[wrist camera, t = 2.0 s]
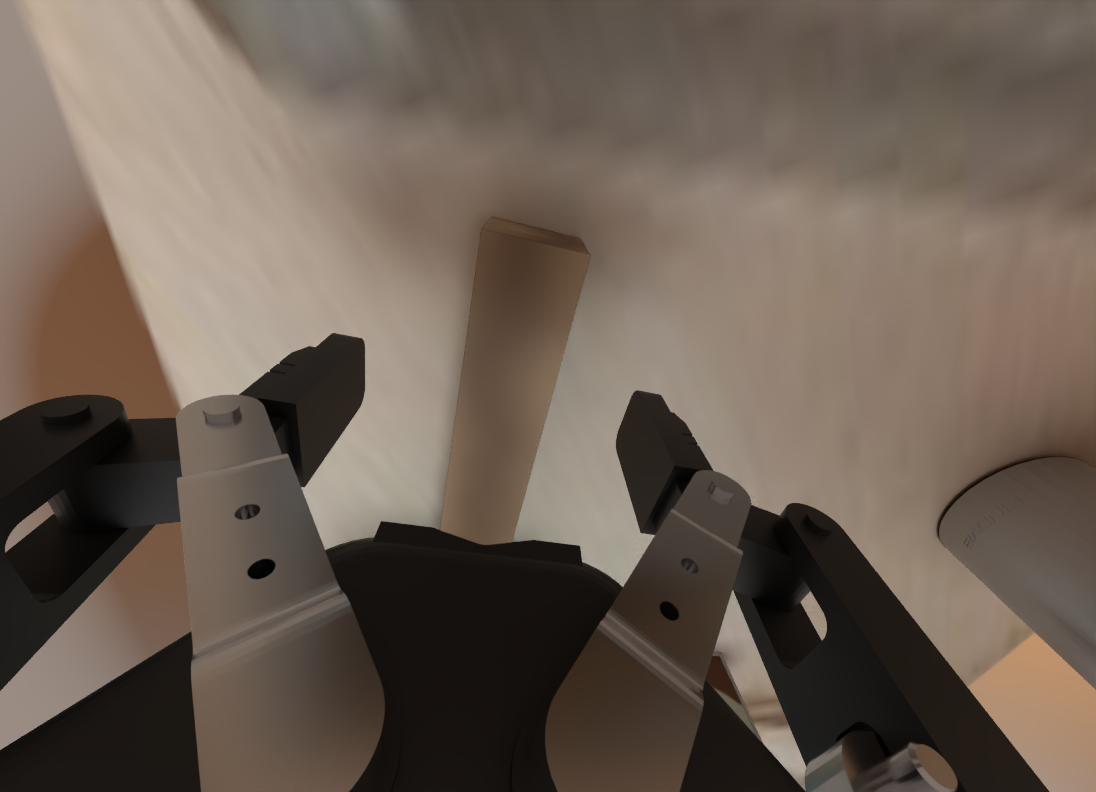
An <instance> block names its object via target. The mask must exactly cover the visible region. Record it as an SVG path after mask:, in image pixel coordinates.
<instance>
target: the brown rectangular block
mask: <svg viewBox="0 0 1096 792" xmlns="http://www.w3.org/2000/svg"><path fill="white" fill-rule="evenodd" d="M589 259H590V254H589V252H588V250H587V249H586V247H585V245H584V243H583V242H582V240H581V239H580V238H576V237H572V236H568V235H564V234H560V233H556V232H552V231H548V230H544V229H539V228H535V227H531V226H527V225H523V224H519V223H515V222H511V221H507V220H503V219H499V218H495V217H491V218H490V219H489V221H488V222H487V223H486V224H485V225H484V227H483V228H482V229H481V236H480V243H479V250H478V258H477V265H476V272H475V279H474V287H473V294H472V301H471V308H470V316H469V323H468V330H467V337H466V345H465V352H464V359H463V366H462V374H461V381H460V388H459V395H458V403H457V410H456V417H455V424H454V432H453V439H452V446H451V453H450V461H449V468H448V475H447V482H446V490H445V497H444V504H443V511H442V519H441V526H440V530H441V531H444V532H447V533H449V534H452V535H455V536H458V537H461V538H464V539H466V540H469V541H472V542H475V543H478V544H482V545H491V544H501V543H510V542H512V540H513V536H514V533H515V529H516V525H517V522H518V518H519V514H520V511H521V507H522V504H523V500H524V496H525V493H526V489H527V485H528V482H529V478H530V474H531V471H532V467H533V463H534V460H535V456H536V452H537V449H538V445H539V441H540V438H541V434H542V431H543V427H544V423H545V420H546V416H547V412H548V409H549V405H550V401H551V398H552V394H553V390H554V387H555V383H556V379H557V376H558V372H559V369H560V365H561V361H562V358H563V354H564V350H565V347H566V343H567V339H568V336H569V332H570V328H571V325H572V321H573V317H574V314H575V310H576V306H577V303H578V299H579V296H580V292H581V288H582V285H583V281H584V277H585V274H586V270H587V266H588V263H589Z"/></svg>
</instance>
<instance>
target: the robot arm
mask: <svg viewBox="0 0 1096 792" xmlns="http://www.w3.org/2000/svg"><path fill="white" fill-rule="evenodd" d="M364 392H365V344H364V341H363V339H362V338H357V337H352V336H346V335H341V334H336V333H332V334H331V335H330V336H328V337H327V338H326V339H325V340H324V341H323V342H321V343H320V344H319V345H318V346H317V347H310V346H309V347H306V348H303V349H301V350H298V351H295V352H292V353H291V354H289V355H288V356H287V357H286V358H284V359H283V360H282V361H281V362H280V364H277V365H276V366H274V367H273V368H272V369H271V370H270V372H267V373H266V374H264V375H263V376H262V377H261V378H259V379H258V380H257V381H256V382H254V383H253V384H252V385H251V386H249V387H248V388H247V389H246V390H244V391H243V392H242V393H241V394H239V395H219V396H213V397H208V398H204V399H201V400H198V401H195V402H193V403H191V404H189V405H187V406H186V407H184V408H183V409H182V410H181V411H180V412H179V413H178V415H177V417H176V418H155V419H128V417H127V414H126V411H125V409H124V406H123V404H122V403H121V402H120V401H119V400H117V399H115V398H111V397H108V396H102V395H74V396H65V397H60V398H54V399H50V400H46V401H42V402H39V403H36V404H33V405H31V406H28V407H26V408H24V409H22V410H19V411H18V412H16V413H14V414H12V415H10V416H8V417H6V418H4V419H2V420H1V421H0V691H1V689H3V687H4V686H5V685H6V684H7V683H8V682H9V681H10V680H11V679H12V678H13V677H14V676H15V675H16V674H17V673H18V671H19V670H20V669H21V668H22V667H23V666H24V665H25V664H26V663H27V662H28V661H29V660H30V659H31V657H33V655H34V654H35V653H36V652H37V651H38V650H39V649H40V648H41V647H42V646H43V645H44V644H45V643H46V641H47V640H48V639H49V638H50V637H51V636H52V635H53V634H54V633H55V632H56V631H57V630H58V629H59V628H60V627H61V625H62V624H63V623H64V622H65V621H66V620H67V619H68V618H69V617H70V616H71V615H72V614H73V613H74V612H75V610H76V609H77V608H78V607H79V606H80V605H81V604H82V603H83V602H84V601H85V600H86V599H87V598H88V596H89V595H90V594H91V593H92V592H93V591H94V590H95V589H96V588H97V587H98V586H99V585H100V584H101V583H102V582H103V581H104V579H105V578H106V577H107V576H108V575H109V574H110V573H111V572H112V571H113V570H114V569H115V568H116V567H117V566H118V564H119V563H120V562H121V561H122V560H123V559H124V558H125V557H126V556H127V555H128V553H130V551H132V550H133V548H134V547H135V546H136V545H137V544H138V543H139V542H140V541H141V540H142V539H143V537H145V536H146V535H147V533H148V532H149V531H150V530H151V529H152V528H153V527H154V526H155V525H156V524H162V523H172V522H181V529H182V539H183V549H184V560H185V570H186V580H187V591H188V601H189V611H190V621H191V632H189V633H188V634H186V635H185V636H183V637H181V638H180V639H178V640H177V641H175V642H173V643H172V644H170V645H168V646H167V647H165V648H164V649H162V650H161V651H159V652H157V653H156V654H154V655H153V656H151V657H149V658H148V659H146V660H144V661H143V662H141V663H140V664H138V665H136V666H135V667H133V668H132V669H130V670H128V671H127V672H125V673H124V674H122V675H121V676H119V677H117V678H115V679H114V680H112V681H111V682H109V683H107V684H106V685H104V686H103V687H101V688H99V689H98V690H96V691H95V692H93V693H91V694H90V695H88V696H87V697H85V698H84V699H82V700H80V701H79V702H77V703H75V704H74V705H72V706H70V707H69V708H67V709H66V710H64V711H62V712H61V713H59V714H58V715H56V716H54V717H53V718H51V719H50V720H48V721H46V722H45V723H43V724H42V725H40V726H38V727H37V728H35V729H34V730H32V731H30V732H29V733H27V734H26V735H24V736H22V737H21V738H19V739H17V740H16V741H14V742H13V743H11V744H9V745H8V746H6V747H5V748H3V749H1V750H0V792H1049V791H1048V789H1047V788H1046V787H1045V786H1044V784H1043V783H1042V782H1041V780H1040V779H1039V778H1038V777H1037V775H1036V774H1035V773H1034V772H1033V770H1032V769H1031V768H1030V767H1029V765H1028V764H1027V763H1026V761H1025V760H1024V759H1023V758H1022V756H1021V755H1020V754H1019V752H1018V751H1017V750H1016V749H1015V747H1014V746H1013V745H1012V744H1011V742H1010V741H1009V740H1008V739H1007V737H1006V736H1005V735H1004V733H1003V732H1002V731H1001V730H1000V728H999V727H998V726H997V725H996V724H995V722H994V721H993V719H992V718H991V717H990V716H989V714H988V713H987V712H986V711H985V709H984V708H983V707H982V706H981V704H980V703H979V702H978V700H977V699H976V698H975V697H974V695H973V694H972V693H971V691H970V690H969V689H968V688H967V686H966V685H965V684H964V683H963V681H962V680H961V679H960V677H959V676H958V675H957V674H956V672H955V671H954V670H953V669H952V667H951V666H950V665H949V663H948V662H947V661H946V660H945V658H944V657H943V656H942V655H941V653H940V652H939V651H938V649H937V648H936V647H935V646H934V644H933V643H932V642H931V641H930V639H929V638H928V637H927V635H926V634H925V633H924V632H923V630H922V629H921V628H920V627H919V625H918V624H917V623H916V622H915V620H914V619H913V618H912V616H911V615H910V614H909V613H908V611H907V610H906V609H905V608H904V606H903V605H902V604H901V602H900V601H899V600H898V599H897V597H896V596H895V595H894V594H893V592H892V591H891V590H890V588H889V587H888V586H887V585H886V583H885V582H884V581H883V580H882V578H881V577H880V576H879V574H878V573H877V572H876V571H875V569H874V568H873V567H872V566H871V564H870V563H869V562H868V560H867V559H866V558H865V557H864V555H863V554H862V553H861V552H860V550H859V549H858V548H857V547H856V545H855V544H854V543H853V541H852V540H851V539H850V538H849V536H848V535H847V534H846V533H845V531H844V530H843V529H842V528H841V527H840V526H839V525H838V524H837V523H836V522H835V521H834V520H833V519H831V518H830V517H829V516H827V515H826V514H824V513H822V512H821V511H819V510H817V509H815V508H813V507H810V506H808V505H804V504H800V503H791V504H789V505H787V507H786V508H785V509H784V511H783V512H782V514H781V515H780V516H779V515H776V514H774V513H771V512H768V511H766V510H763V509H760V508H758V507H755V506H753V505H751V499H750V497H749V495H748V493H747V492H746V491H745V490H744V489H743V488H742V486H740V485H739V484H738V483H737V482H735V481H734V480H733V479H731V478H729V477H728V476H726V475H723V474H721V473H718V472H715V471H713V469H712V467H711V466H710V464H709V462H708V461H707V459H706V457H705V455H704V454H703V452H702V450H701V449H700V447H699V446H697V442H696V440H695V438H694V437H692V433H691V432H690V430H689V428H688V427H687V425H686V423H685V422H683V421H682V420H681V419H680V418H679V417H678V416H677V415H676V414H675V413H672V412H670V410H669V408H668V407H667V405H666V403H665V401H664V399H663V398H662V396H661V395H659V394H654V393H648V392H643V391H638V390H637V391H635V392H634V393H633V395H632V397H631V399H630V402H629V404H628V407H627V410H626V412H625V415H624V417H623V420H622V423H621V425H620V428H619V430H618V434H617V439H616V450H617V454H618V457H619V461H620V464H621V468H622V471H623V474H624V478H625V481H626V485H627V488H628V491H629V495H630V498H631V501H632V505H633V508H634V512H635V515H636V518H637V522H638V525H639V529H640V532H641V533H645V534H652V535H655V536H654V538H653V540H652V541H651V543H650V545H649V546H648V548H647V549H646V551H645V553H644V554H643V556H642V557H641V559H640V561H639V562H638V564H637V566H636V567H635V569H634V570H633V572H632V574H631V575H630V577H629V579H628V580H627V582H626V583H625V585H624V587H622V586H621V585H620V584H619V583H618V582H616V581H615V580H614V579H612V578H611V577H610V576H608V575H607V574H605V573H603V572H602V571H600V570H598V569H597V568H594V567H592V566H590V565H588V564H586V563H583V562H582V558H581V550H580V546H577V545H569V544H561V543H553V542H544V541H536V540H530V541H520V542H510V543H501V544H491V545H482V544H478V543H475V542H472V541H469V540H466V539H464V538H461V537H458V536H455V535H452V534H449V533H447V532H444V531H441V530H438V529H435V528H432V527H424V526H416V525H408V524H399V523H391V522H383V521H381V523H380V525H379V528H378V530H377V533H376V535H375V537H373V538H365V539H360V540H354V541H350V542H347V543H343V544H340V545H337V546H335V547H332V548H329V549H327V550H325V549H324V546H323V544H322V541H321V538H320V536H319V533H318V531H317V528H316V525H315V523H314V520H313V518H312V515H311V512H310V510H309V507H308V504H307V502H306V499H305V497H304V494H303V491H302V489H301V487H305V486H306V485H307V483H308V482H309V480H310V479H311V477H312V476H313V474H314V473H315V472H316V470H317V469H318V467H319V466H320V464H321V463H322V461H323V460H324V459H325V457H326V456H327V454H328V453H329V451H330V450H331V448H332V447H333V446H334V444H335V443H336V441H337V440H338V438H339V437H340V435H341V434H342V433H343V431H344V430H345V428H346V427H347V425H348V424H349V422H350V421H351V420H352V418H353V417H354V415H355V414H356V412H357V411H358V409H359V408H360V406H361V404H362V401H363V397H364ZM47 501H48V503H49V505H50V506H51V508H52V510H53V512H54V514H53V515H52V516H50V517H49V518H48V519H47V520H46V521H44V522H43V523H42V524H41V525H39V526H38V527H37V528H36V529H34V530H33V531H32V532H31V533H29V534H28V535H27V536H26V537H24V538H23V539H22V540H21V541H19V542H18V543H17V544H16V545H15V546H13V547H12V548H11V549H9V550H8V551H7V552H6V553H5V544H6V541H7V539H8V536H9V535H10V533H11V532H12V530H13V529H14V528H15V527H16V526H17V524H19V523H20V522H21V521H22V520H23V519H25V518H26V517H27V516H29V515H30V514H31V513H33V512H34V511H35V510H36V509H38V508H39V507H40V506H42V505H43V504H44V503H46V502H47ZM939 538H940V540H941V542H942V544H943V545H944V546H945V547H946V548H947V549H948V550H949V551H950V552H951V553H952V554H953V555H954V556H955V557H956V558H957V559H958V560H959V561H960V562H962V563H963V564H964V565H965V566H966V567H967V568H968V569H969V570H970V571H971V572H972V573H973V574H974V575H975V576H976V577H977V578H978V579H980V580H981V581H982V582H983V583H984V584H985V585H986V586H987V587H988V588H989V589H990V590H991V591H992V592H993V593H994V594H995V595H996V596H997V597H998V598H999V599H1000V600H1001V601H1002V602H1003V603H1004V604H1006V605H1007V606H1008V607H1009V608H1010V609H1011V610H1012V611H1013V612H1014V613H1015V614H1016V615H1017V616H1018V617H1019V618H1020V619H1021V620H1022V621H1023V622H1025V623H1026V624H1027V625H1028V626H1029V627H1030V628H1031V629H1032V630H1033V631H1034V632H1035V633H1036V634H1037V635H1038V636H1039V637H1041V639H1043V640H1044V641H1045V642H1046V643H1047V644H1048V645H1049V646H1050V647H1051V648H1052V649H1053V650H1054V651H1055V652H1056V653H1057V654H1059V656H1061V657H1062V658H1063V659H1064V660H1065V661H1066V662H1067V663H1068V664H1069V665H1070V666H1071V667H1072V668H1073V669H1074V670H1075V671H1076V672H1078V673H1079V674H1080V675H1081V676H1082V677H1083V678H1084V679H1085V680H1086V681H1087V682H1088V683H1089V684H1090V685H1091V686H1092V687H1093V688H1094V689H1095V690H1096V468H1094V467H1092V466H1090V465H1088V464H1087V463H1085V462H1083V461H1081V460H1078V459H1073V458H1069V457H1050V458H1043V459H1036V460H1032V461H1028V462H1025V463H1021V464H1018V465H1015V466H1013V467H1010V468H1007V469H1005V470H1002V471H1000V472H998V473H996V474H994V475H992V476H990V477H988V478H987V479H985V480H983V481H981V482H980V483H978V484H977V485H975V486H974V487H972V488H971V489H969V490H968V491H967V492H966V493H965V494H963V495H962V496H961V497H960V498H959V499H958V500H957V501H956V502H955V503H954V504H953V505H952V506H951V507H950V509H949V510H948V511H947V513H946V514H945V516H944V518H943V519H942V521H941V525H940V528H939ZM732 590H734V593H735V596H736V598H737V600H738V603H739V605H740V608H741V610H742V613H743V615H744V617H745V620H746V622H747V625H748V627H749V630H750V632H751V634H752V637H753V639H754V642H755V644H756V646H757V649H758V651H759V654H760V656H761V659H762V661H763V663H764V666H765V668H766V671H767V673H768V675H769V678H770V680H771V683H772V685H773V688H774V690H775V692H776V695H777V697H778V700H779V702H780V704H781V707H782V709H783V712H784V714H785V717H786V719H787V721H788V724H789V726H790V729H791V731H792V733H793V736H794V738H795V741H796V743H797V746H798V748H799V750H800V753H801V755H802V758H803V760H804V762H805V765H806V767H807V768H806V771H805V788H806V791H805V790H804V789H803V788H802V787H801V786H800V785H799V784H798V782H797V781H796V780H795V779H794V778H793V777H792V776H791V775H790V773H789V772H788V771H787V770H786V769H785V768H784V767H783V766H782V764H781V763H780V762H779V761H778V760H777V759H776V758H775V757H774V756H773V754H772V753H771V752H770V751H769V750H768V749H767V748H766V747H765V745H764V744H763V743H762V742H761V741H760V740H759V739H758V738H757V736H756V735H755V734H754V733H753V732H752V731H751V730H750V729H749V727H748V726H747V725H746V724H745V723H744V722H743V721H742V720H741V718H740V717H739V716H738V715H737V714H736V713H735V712H734V711H733V709H732V708H731V707H730V706H729V705H728V704H727V703H726V702H725V700H724V699H723V698H722V697H721V696H720V695H719V694H718V693H717V691H716V690H715V689H714V688H713V687H712V686H711V685H710V684H709V682H708V681H707V680H706V675H707V672H708V669H709V665H710V662H711V659H712V655H713V652H714V649H715V645H716V642H717V639H718V635H719V632H720V629H721V625H722V622H723V619H724V615H725V612H726V609H727V605H728V602H729V599H730V595H731V592H732ZM810 591H811V592H812V594H813V596H814V597H815V599H816V601H817V602H818V604H819V606H820V607H821V609H822V611H823V613H824V615H825V617H826V621H827V633H826V636H825V638H824V639H823V640H821V639H820V637H819V635H818V633H817V631H816V630H815V628H814V626H813V624H812V622H811V621H810V619H809V617H808V615H807V613H806V612H805V610H804V608H803V606H802V604H801V603H800V602H801V601H802V599H803V598H804V597H805V596H806V595H807V594H808V593H809V592H810Z"/></svg>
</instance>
